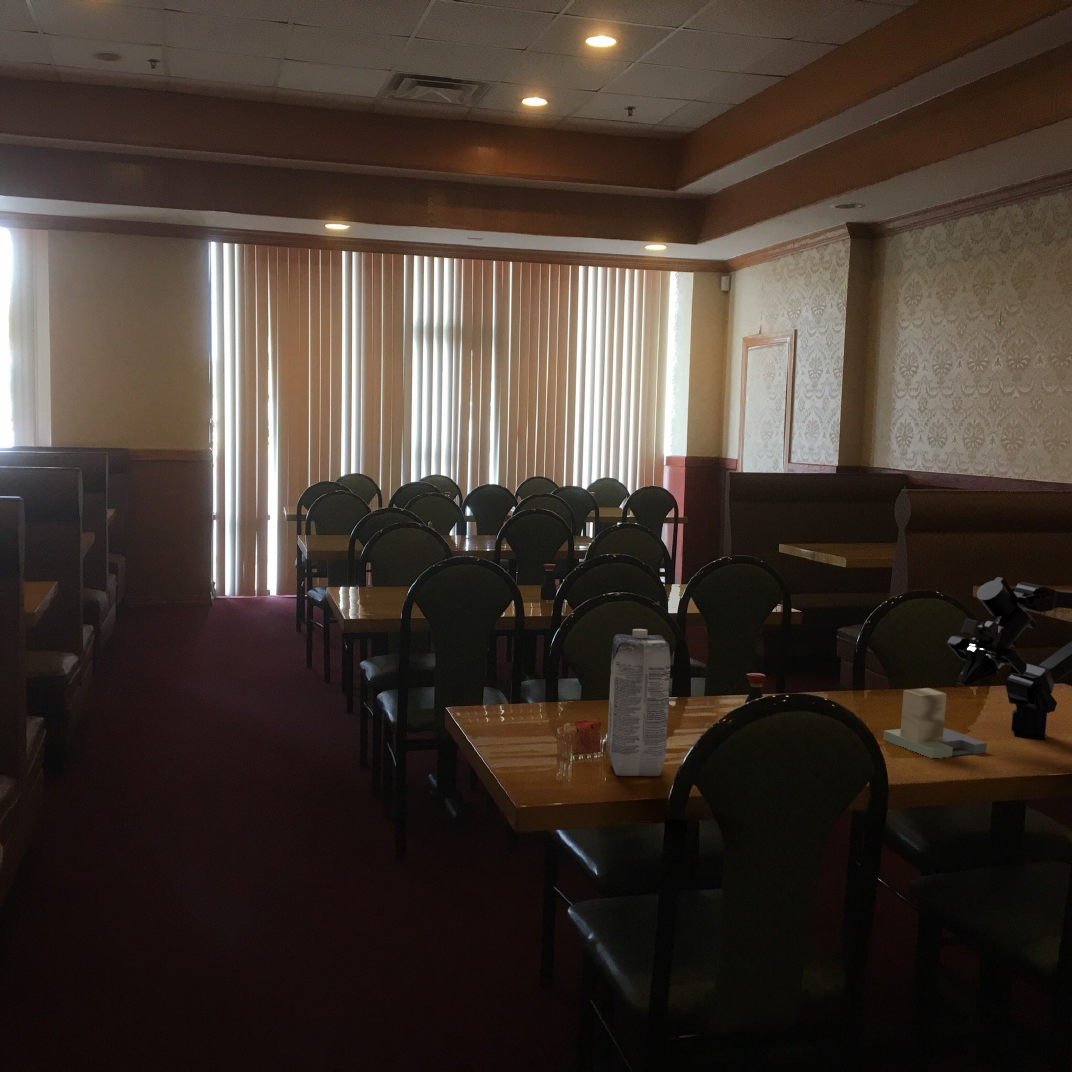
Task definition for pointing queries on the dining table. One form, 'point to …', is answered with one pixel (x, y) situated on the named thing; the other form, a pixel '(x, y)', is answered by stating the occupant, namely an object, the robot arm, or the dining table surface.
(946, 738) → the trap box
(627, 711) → the juice carton
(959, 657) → the robot arm
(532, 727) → the dining table surface
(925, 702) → the maple block
